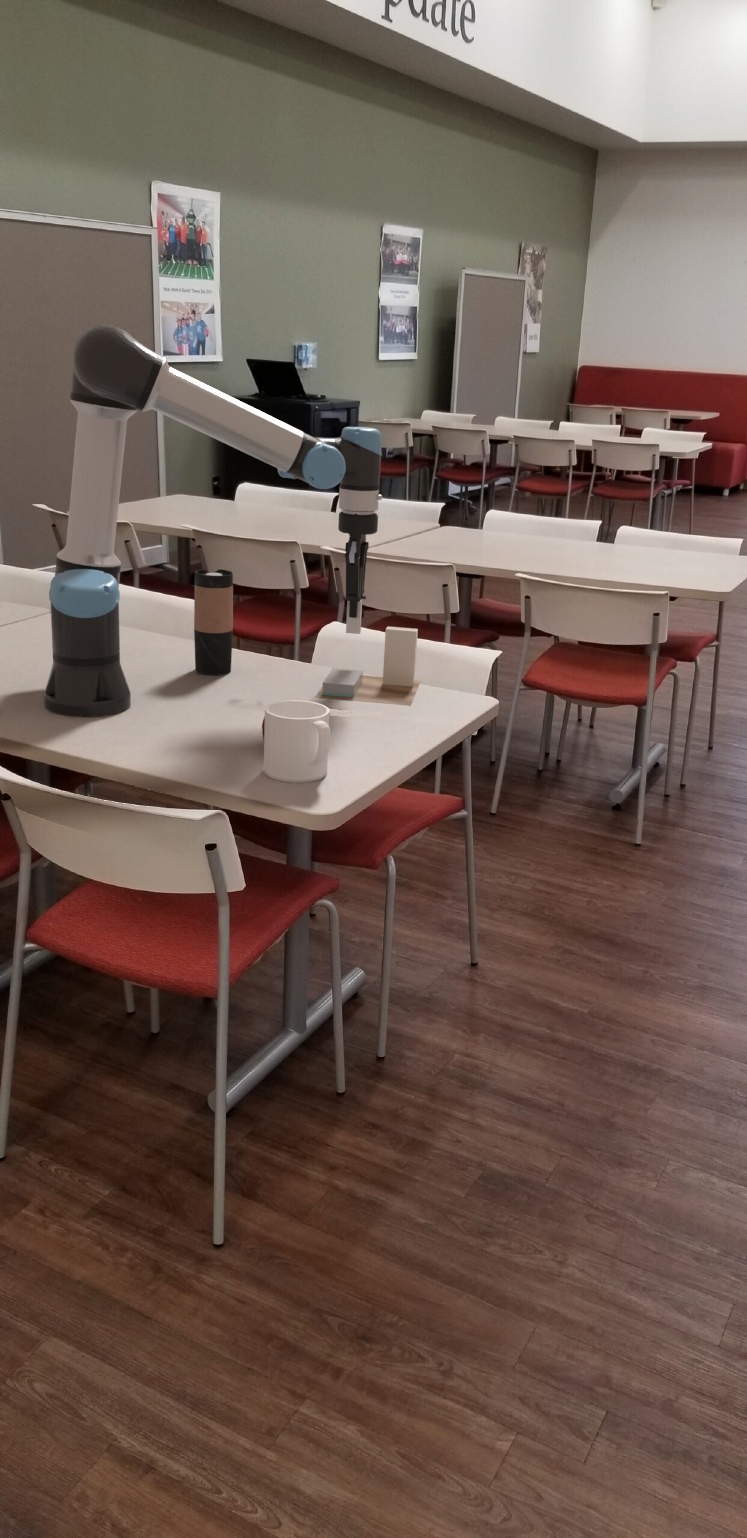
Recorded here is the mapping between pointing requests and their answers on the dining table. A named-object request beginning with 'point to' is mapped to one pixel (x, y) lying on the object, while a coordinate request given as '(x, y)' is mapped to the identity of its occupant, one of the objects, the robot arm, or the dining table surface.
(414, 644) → the tile plain
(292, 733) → the mug
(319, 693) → the board
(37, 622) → the dining table surface
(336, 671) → the tile teal
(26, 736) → the dining table surface
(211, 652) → the travel mug
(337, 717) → the dining table surface
